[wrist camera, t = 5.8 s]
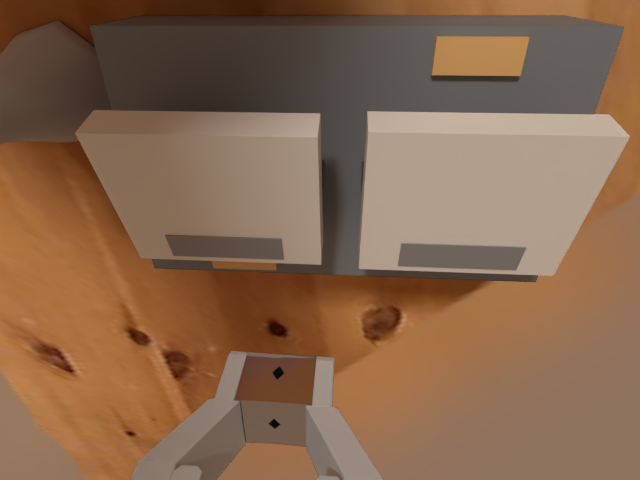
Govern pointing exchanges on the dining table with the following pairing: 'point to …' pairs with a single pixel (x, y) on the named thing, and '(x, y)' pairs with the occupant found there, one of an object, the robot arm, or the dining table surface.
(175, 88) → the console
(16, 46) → the flask
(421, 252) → the switch
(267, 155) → the switch
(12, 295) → the dining table surface
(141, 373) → the dining table surface
